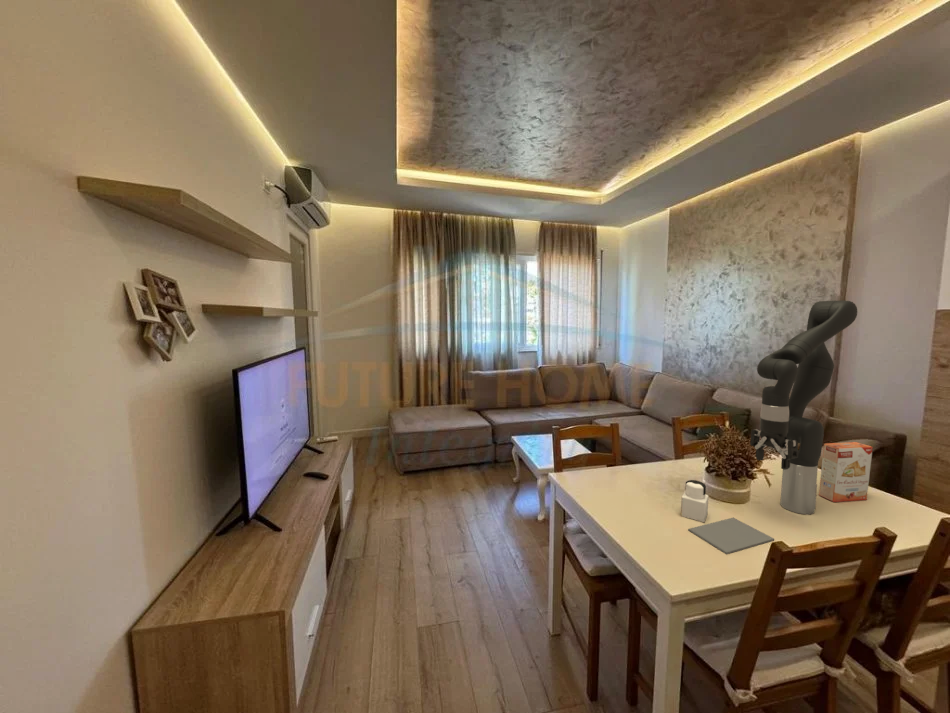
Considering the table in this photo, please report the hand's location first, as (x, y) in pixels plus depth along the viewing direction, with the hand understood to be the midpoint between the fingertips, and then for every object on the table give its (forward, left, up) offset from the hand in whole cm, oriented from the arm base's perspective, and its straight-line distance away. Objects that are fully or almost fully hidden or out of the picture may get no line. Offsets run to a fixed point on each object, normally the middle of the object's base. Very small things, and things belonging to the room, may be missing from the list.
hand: (771, 464), depth 126 cm
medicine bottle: (+23, -10, -19) cm, 31 cm away
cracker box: (-39, 0, -19) cm, 44 cm away
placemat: (+23, +3, -19) cm, 30 cm away
